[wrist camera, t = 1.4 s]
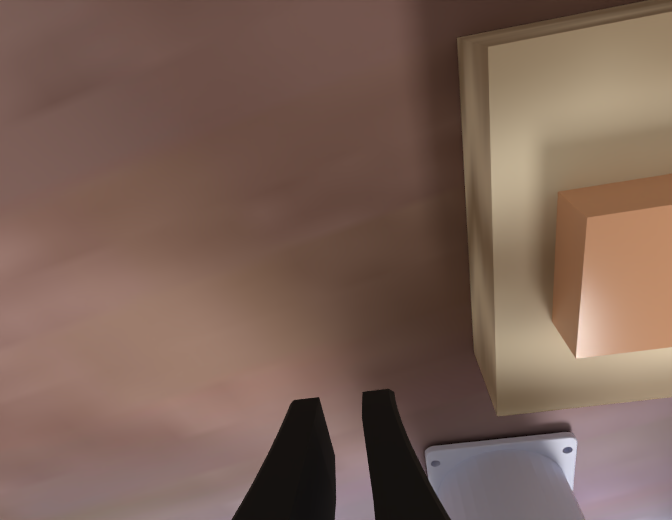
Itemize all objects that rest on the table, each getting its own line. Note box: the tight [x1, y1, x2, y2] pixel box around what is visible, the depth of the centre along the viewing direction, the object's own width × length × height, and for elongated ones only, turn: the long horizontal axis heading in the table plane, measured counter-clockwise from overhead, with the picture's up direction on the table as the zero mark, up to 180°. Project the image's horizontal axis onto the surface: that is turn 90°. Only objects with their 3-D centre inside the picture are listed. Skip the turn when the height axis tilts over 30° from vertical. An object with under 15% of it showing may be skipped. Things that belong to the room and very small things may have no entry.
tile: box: [552, 174, 672, 359], centre depth 14 cm, size 5×5×2 cm
